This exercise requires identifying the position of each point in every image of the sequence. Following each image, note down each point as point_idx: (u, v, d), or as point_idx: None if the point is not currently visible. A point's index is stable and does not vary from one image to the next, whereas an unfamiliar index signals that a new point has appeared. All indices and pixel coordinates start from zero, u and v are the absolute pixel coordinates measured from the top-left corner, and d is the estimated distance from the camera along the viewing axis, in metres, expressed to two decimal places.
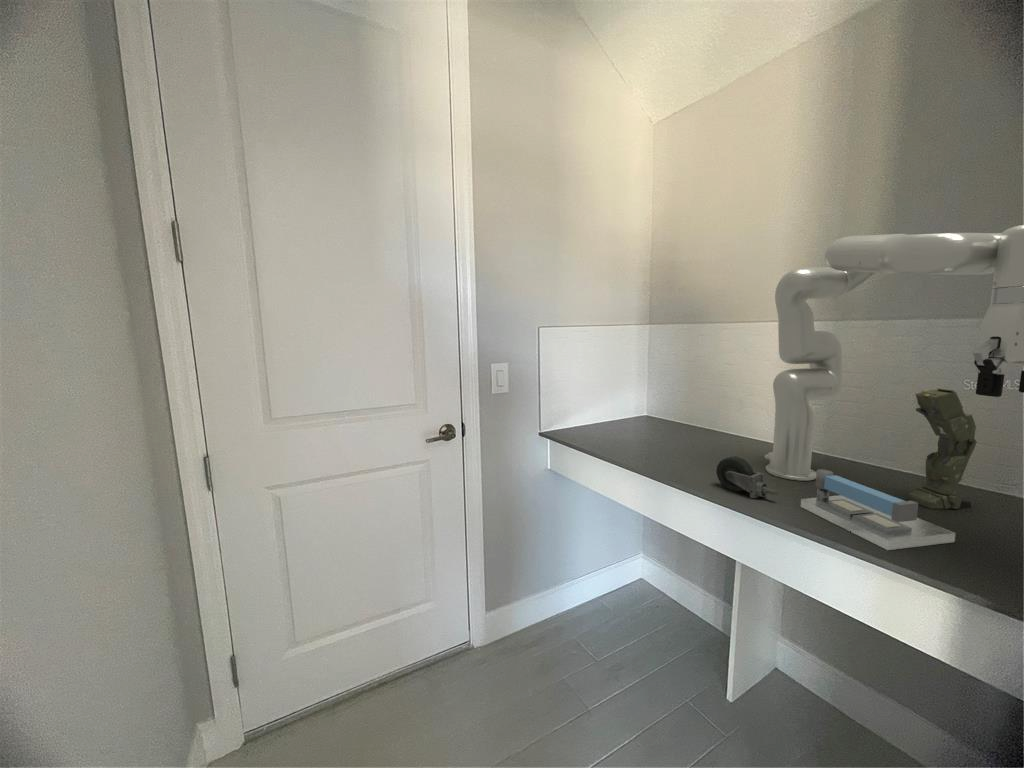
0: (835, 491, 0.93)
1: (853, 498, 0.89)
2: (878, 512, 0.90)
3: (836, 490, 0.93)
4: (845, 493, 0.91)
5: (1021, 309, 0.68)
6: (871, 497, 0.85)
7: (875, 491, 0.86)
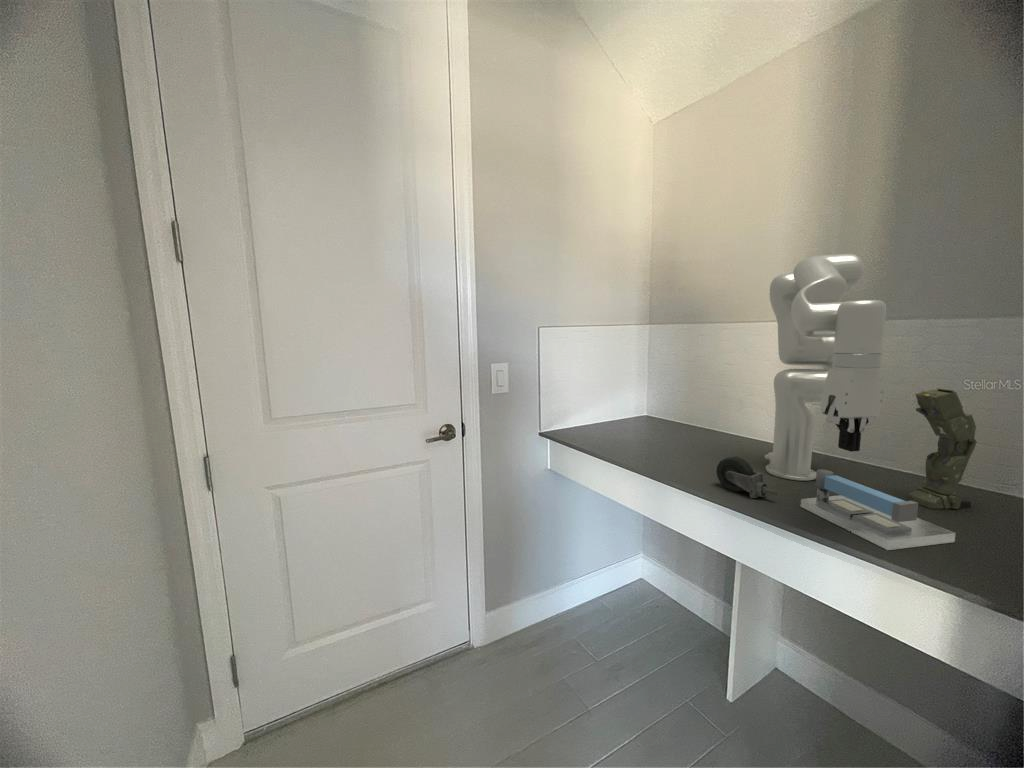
0: (835, 491, 0.93)
1: (853, 498, 0.89)
2: (878, 512, 0.90)
3: (836, 490, 0.93)
4: (845, 493, 0.91)
5: (849, 373, 0.79)
6: (871, 497, 0.85)
7: (875, 491, 0.86)
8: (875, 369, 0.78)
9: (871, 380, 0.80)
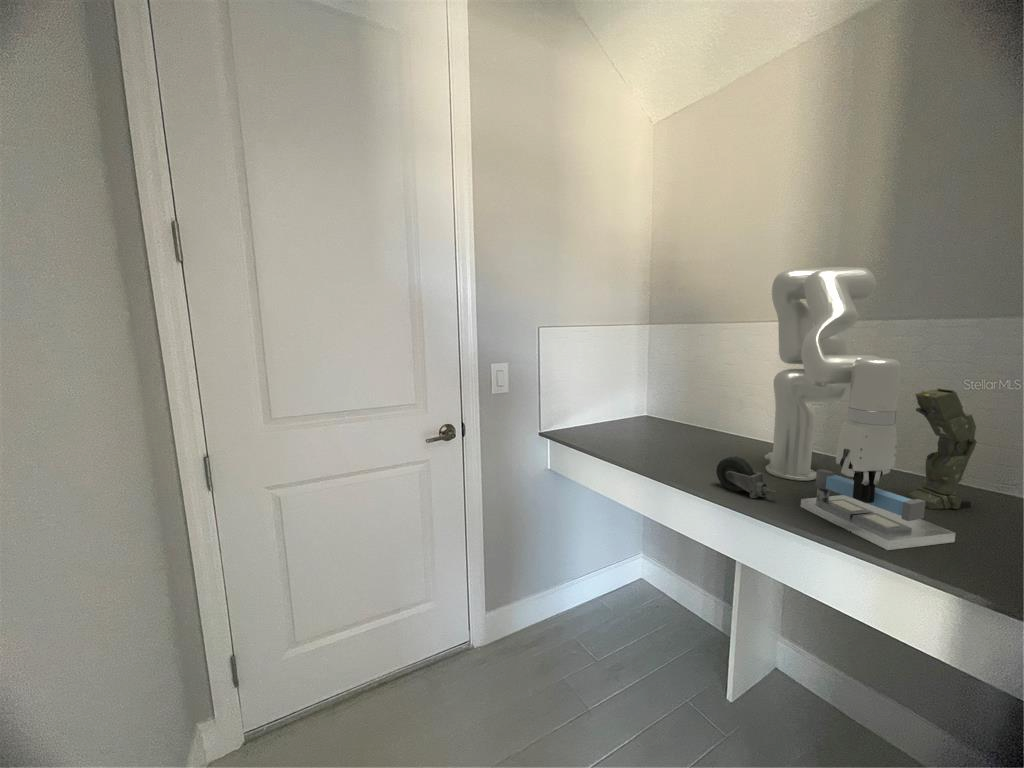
0: (838, 491, 0.93)
1: None
2: (878, 512, 0.90)
3: (839, 490, 0.93)
4: (849, 493, 0.91)
5: (864, 429, 0.82)
6: (878, 496, 0.85)
7: (880, 490, 0.87)
8: (889, 426, 0.80)
9: (885, 436, 0.82)
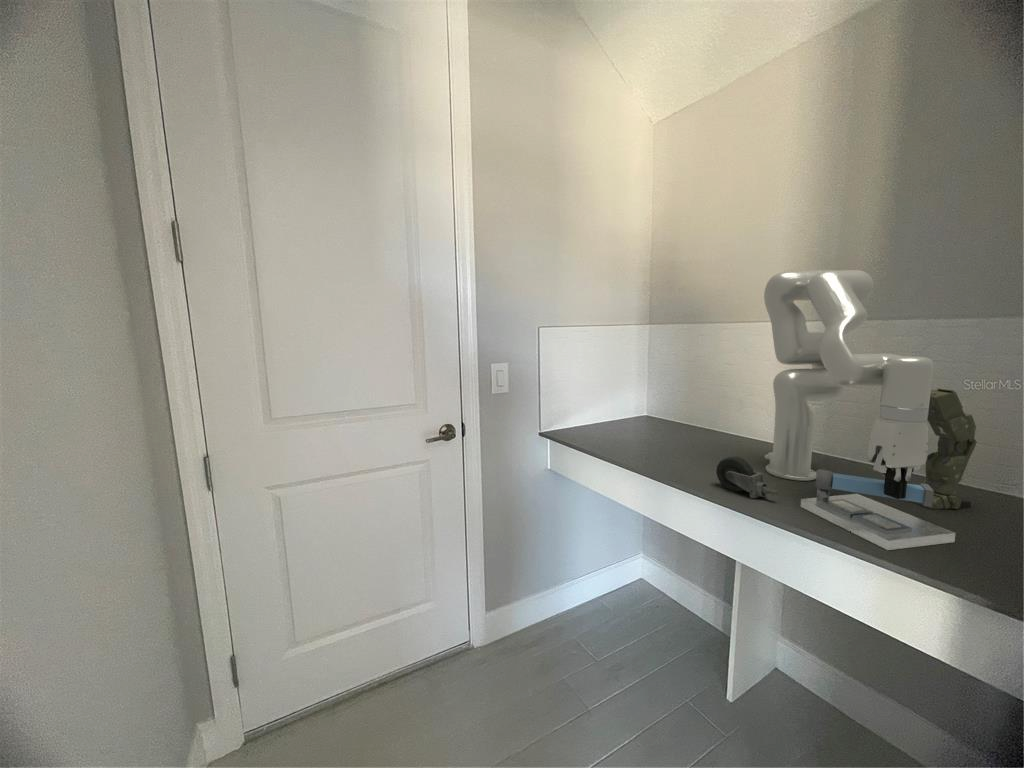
0: (847, 489, 0.94)
1: (871, 493, 0.91)
2: (878, 512, 0.90)
3: (849, 488, 0.94)
4: (861, 489, 0.92)
5: (897, 426, 0.83)
6: None
7: None
8: (922, 423, 0.82)
9: (918, 432, 0.84)
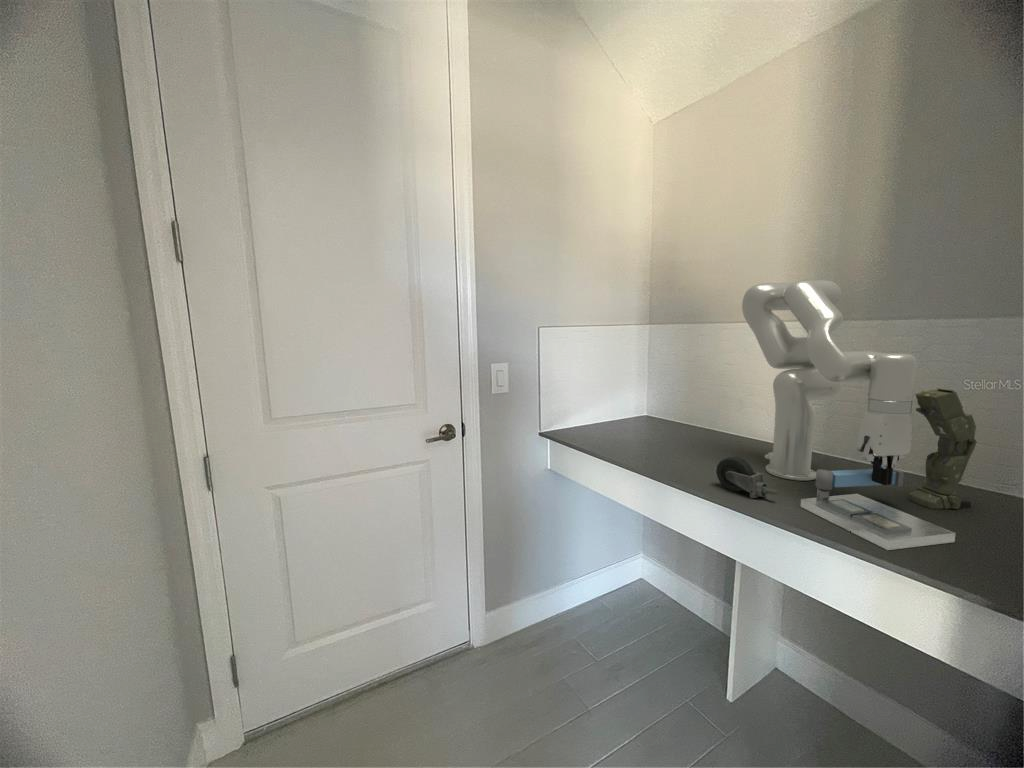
0: (846, 485, 0.96)
1: (862, 484, 0.97)
2: (878, 512, 0.90)
3: (847, 484, 0.96)
4: (855, 483, 0.96)
5: (883, 418, 0.91)
6: None
7: (865, 470, 0.99)
8: (906, 415, 0.89)
9: (902, 423, 0.91)
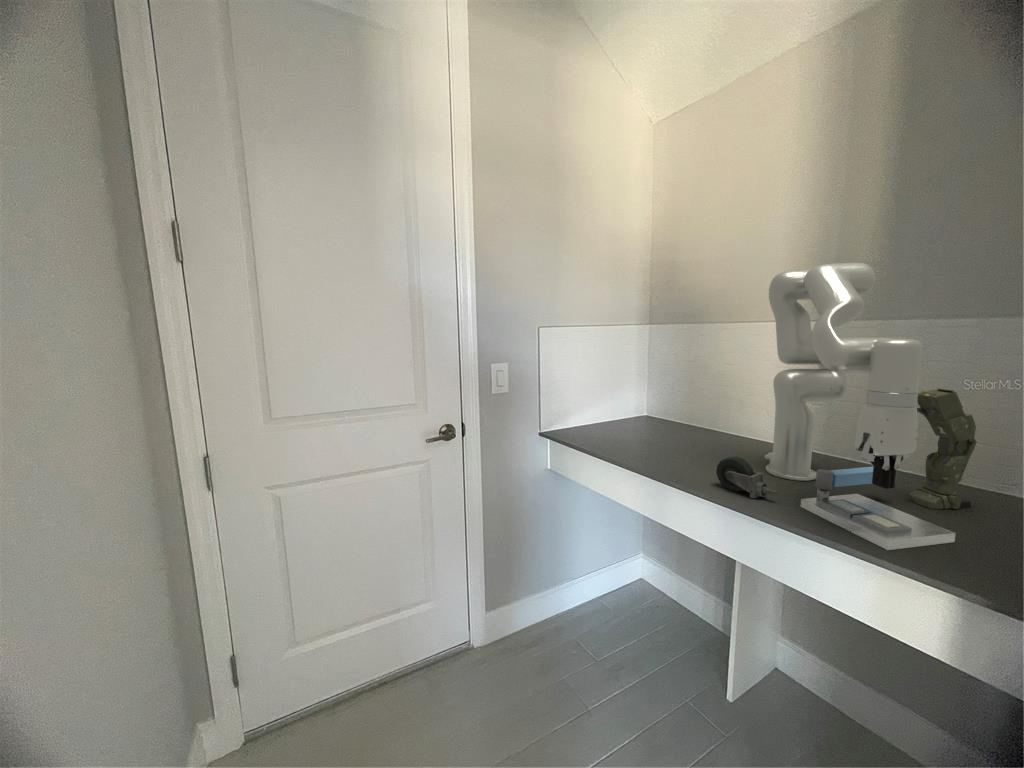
0: (845, 484, 0.97)
1: (860, 482, 0.97)
2: (878, 512, 0.90)
3: (846, 483, 0.97)
4: (853, 482, 0.97)
5: (885, 412, 0.79)
6: None
7: (861, 468, 1.00)
8: (911, 409, 0.78)
9: (907, 419, 0.80)
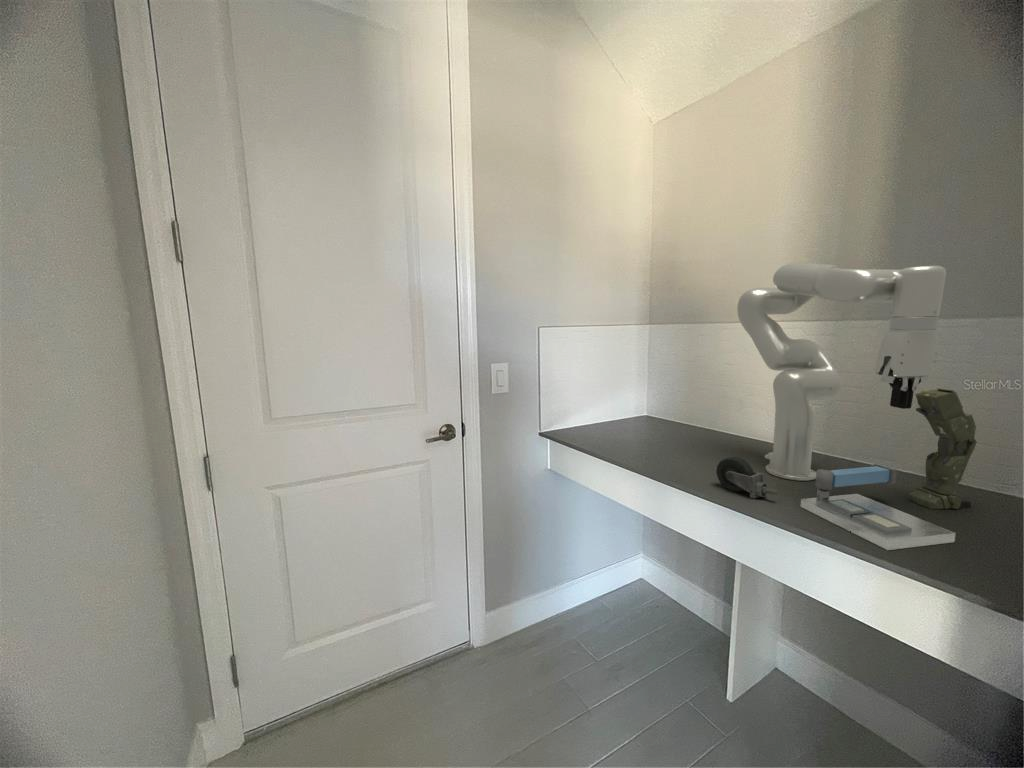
0: (845, 484, 0.97)
1: (860, 482, 0.97)
2: (878, 512, 0.90)
3: (846, 483, 0.97)
4: (853, 482, 0.97)
5: (906, 335, 0.85)
6: (873, 474, 0.98)
7: (861, 468, 1.00)
8: (932, 331, 0.84)
9: (927, 342, 0.85)
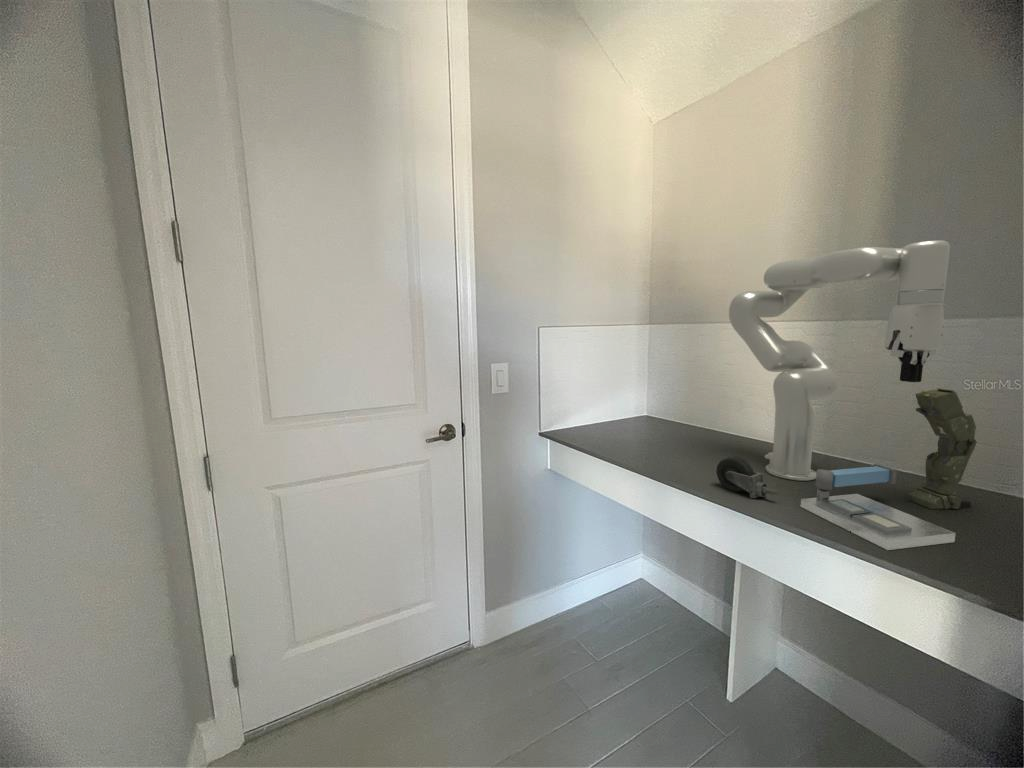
0: (845, 484, 0.97)
1: (860, 482, 0.97)
2: (878, 512, 0.90)
3: (846, 483, 0.97)
4: (853, 482, 0.97)
5: (914, 308, 0.87)
6: (873, 474, 0.98)
7: (861, 468, 1.00)
8: (939, 304, 0.86)
9: (934, 315, 0.87)
